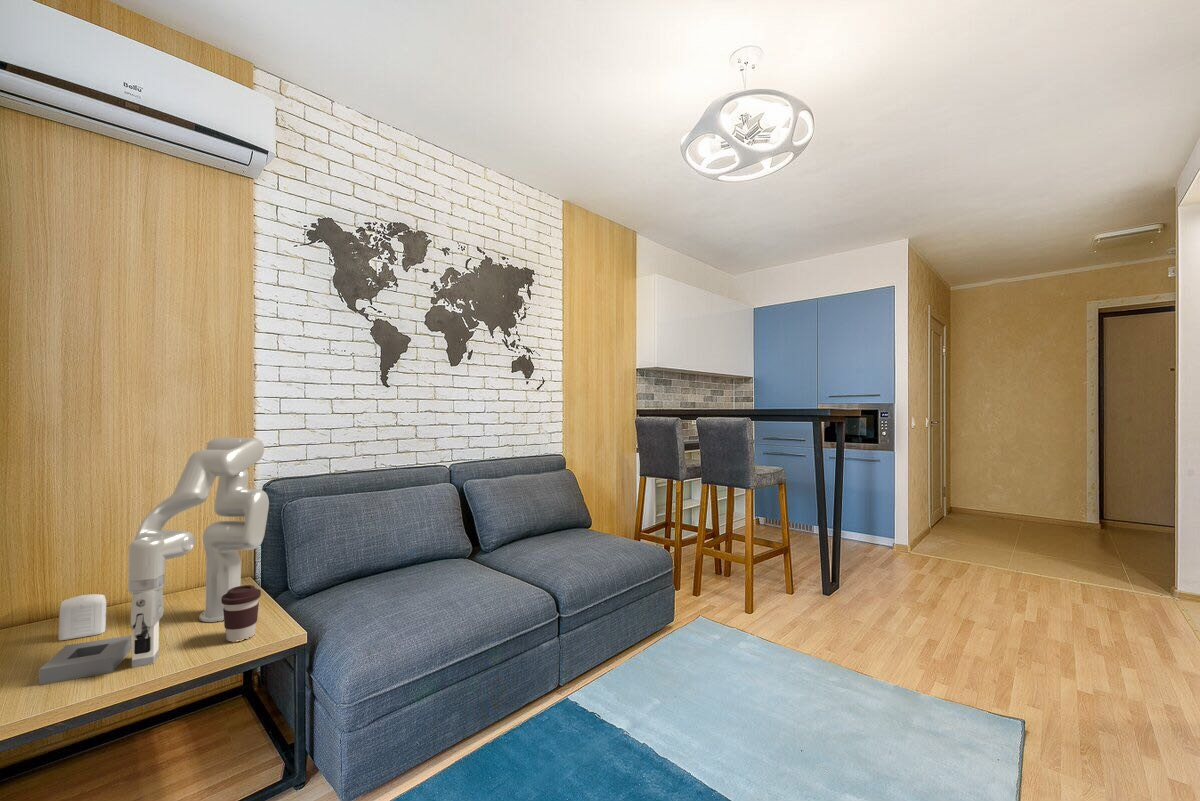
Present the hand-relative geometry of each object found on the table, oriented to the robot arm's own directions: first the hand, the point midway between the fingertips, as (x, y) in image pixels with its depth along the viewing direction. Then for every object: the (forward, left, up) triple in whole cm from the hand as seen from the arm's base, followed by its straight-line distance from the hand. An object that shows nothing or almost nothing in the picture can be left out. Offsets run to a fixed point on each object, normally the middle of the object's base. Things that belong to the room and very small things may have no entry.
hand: (145, 647), depth 140 cm
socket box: (+13, -4, -4) cm, 14 cm away
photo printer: (+22, -28, -4) cm, 36 cm away
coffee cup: (-21, -6, -4) cm, 22 cm away
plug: (0, 0, -4) cm, 4 cm away
